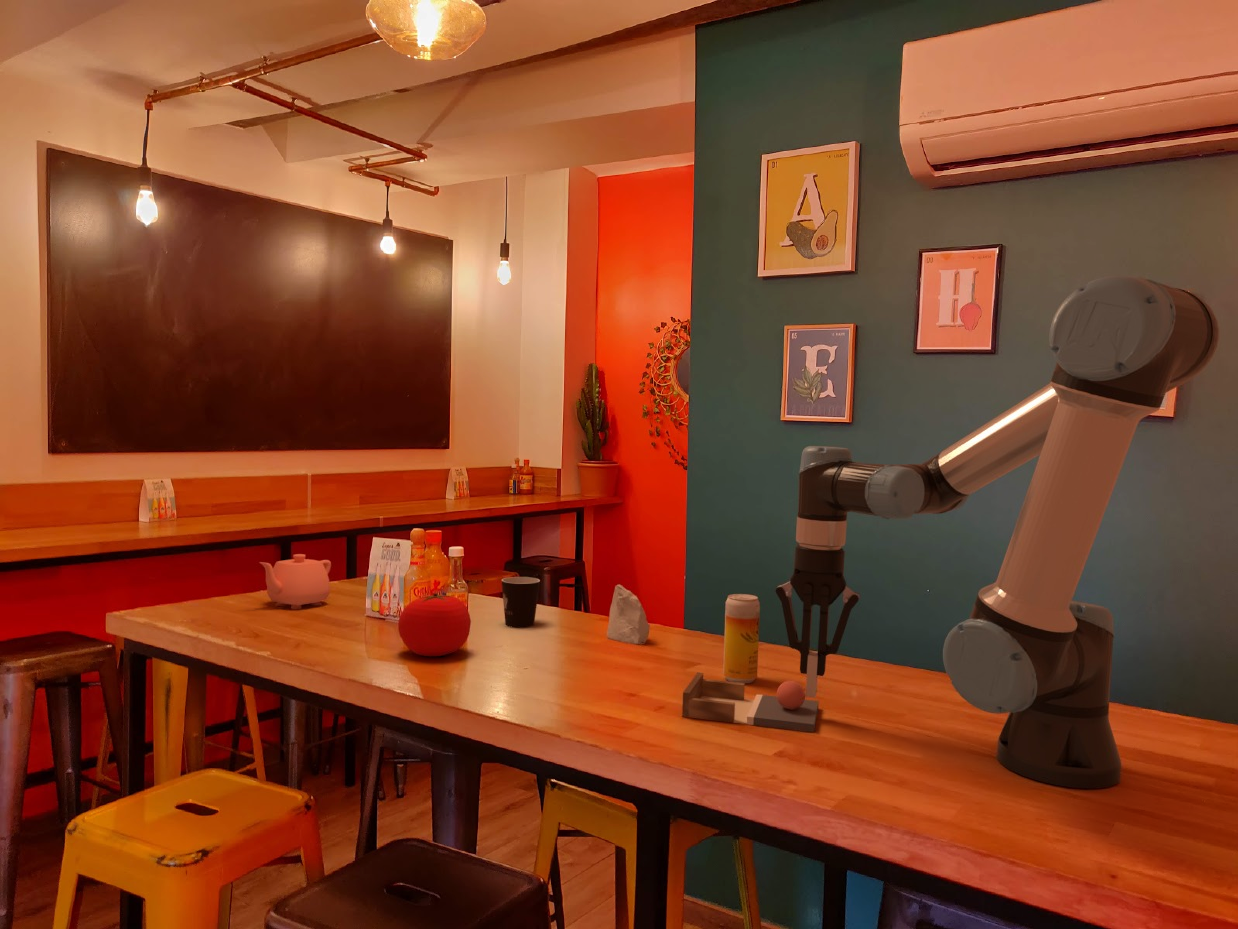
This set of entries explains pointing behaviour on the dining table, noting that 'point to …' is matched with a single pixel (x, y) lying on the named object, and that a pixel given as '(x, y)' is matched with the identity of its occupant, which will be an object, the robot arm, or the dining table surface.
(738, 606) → the beer can
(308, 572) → the teapot
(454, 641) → the tomato
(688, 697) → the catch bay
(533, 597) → the coffee mug
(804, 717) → the lane mat
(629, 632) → the stone
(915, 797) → the dining table surface
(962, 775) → the dining table surface
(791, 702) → the ball
